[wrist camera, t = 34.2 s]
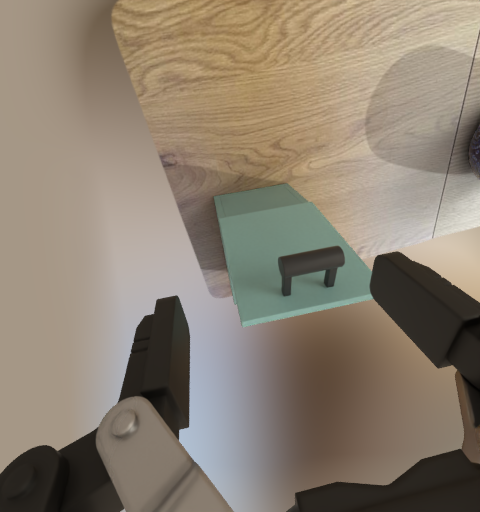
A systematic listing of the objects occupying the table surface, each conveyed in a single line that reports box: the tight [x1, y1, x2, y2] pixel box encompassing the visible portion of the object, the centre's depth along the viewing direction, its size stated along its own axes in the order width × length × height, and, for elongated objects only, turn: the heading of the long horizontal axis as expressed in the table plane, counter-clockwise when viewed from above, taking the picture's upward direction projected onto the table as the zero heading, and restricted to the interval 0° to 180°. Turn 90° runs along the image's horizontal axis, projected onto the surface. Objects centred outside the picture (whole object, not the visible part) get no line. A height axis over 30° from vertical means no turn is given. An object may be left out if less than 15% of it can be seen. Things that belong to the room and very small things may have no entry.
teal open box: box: [214, 184, 308, 305], centre depth 43 cm, size 16×13×10 cm
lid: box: [219, 202, 374, 327], centre depth 26 cm, size 17×13×5 cm
